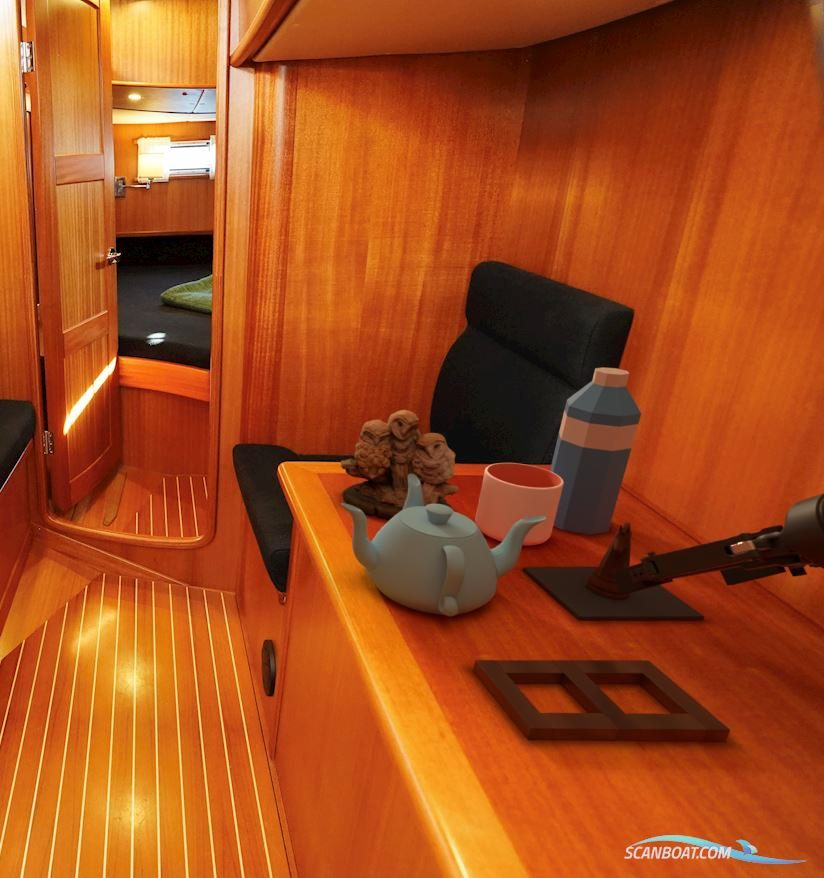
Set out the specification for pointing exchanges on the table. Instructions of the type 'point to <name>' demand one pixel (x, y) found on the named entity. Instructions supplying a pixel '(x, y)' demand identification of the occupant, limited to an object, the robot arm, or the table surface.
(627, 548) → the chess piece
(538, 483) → the cup
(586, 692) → the rack
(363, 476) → the owl figurine
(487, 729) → the table surface
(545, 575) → the felt mat
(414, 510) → the teapot
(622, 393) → the water bottle
